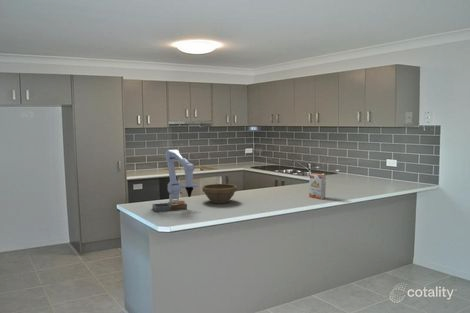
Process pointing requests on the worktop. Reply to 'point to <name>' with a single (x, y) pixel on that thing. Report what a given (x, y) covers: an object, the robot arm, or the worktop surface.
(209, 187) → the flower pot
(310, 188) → the cracker box
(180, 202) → the terracotta block
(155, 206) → the charcoal tray
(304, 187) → the worktop surface
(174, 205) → the walnut board
